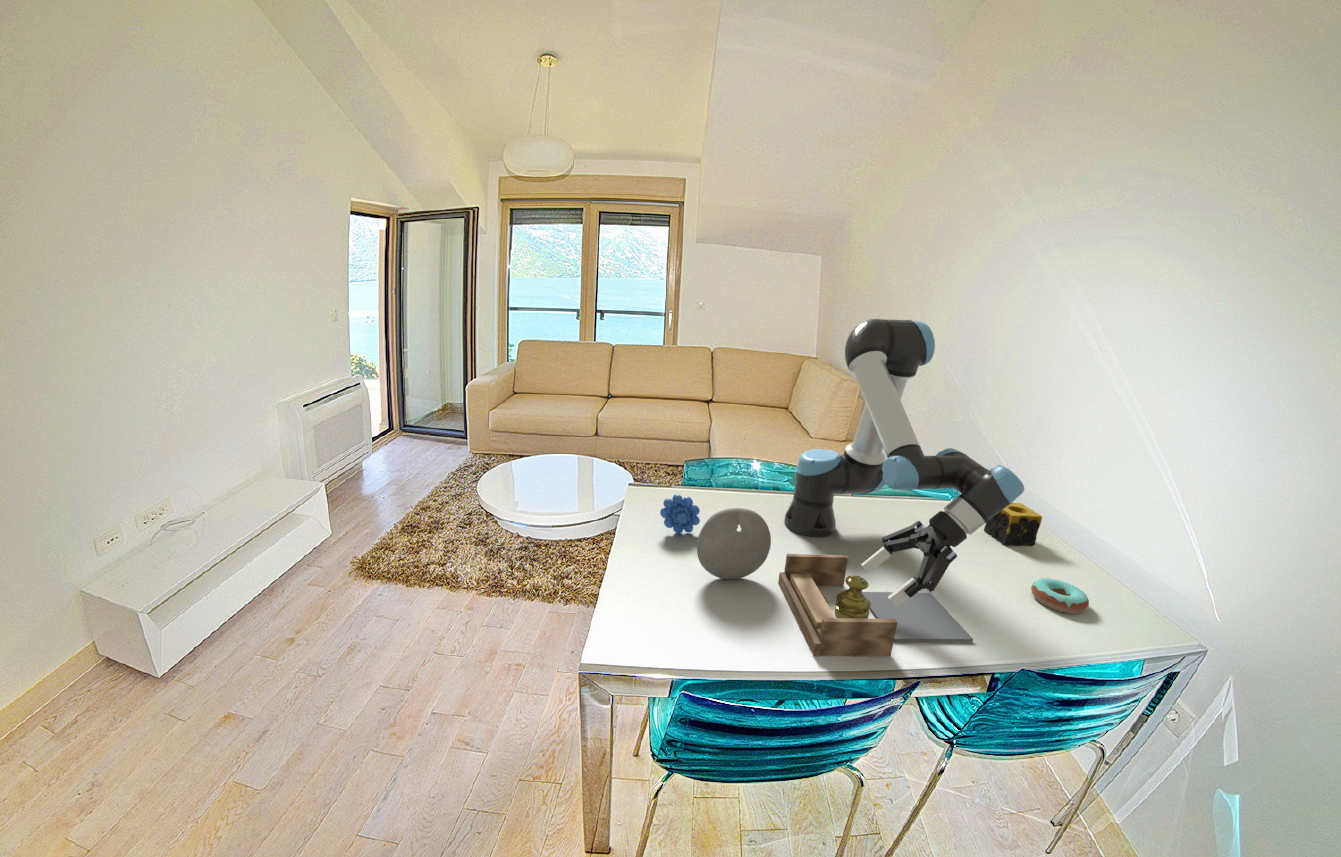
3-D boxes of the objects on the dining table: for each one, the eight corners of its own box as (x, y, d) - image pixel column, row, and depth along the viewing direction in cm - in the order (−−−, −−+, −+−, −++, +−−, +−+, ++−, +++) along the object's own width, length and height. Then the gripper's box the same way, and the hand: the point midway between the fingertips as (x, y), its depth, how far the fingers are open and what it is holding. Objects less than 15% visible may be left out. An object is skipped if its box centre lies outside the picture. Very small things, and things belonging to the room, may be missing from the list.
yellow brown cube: (982, 530, 180) (989, 501, 177) (1013, 531, 181) (1020, 502, 178) (1003, 546, 170) (1011, 515, 167) (1035, 546, 171) (1043, 516, 168)
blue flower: (661, 540, 159) (663, 500, 156) (657, 529, 166) (659, 491, 163) (701, 539, 162) (705, 500, 158) (696, 529, 168) (700, 490, 165)
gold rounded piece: (850, 629, 125) (857, 589, 122) (827, 611, 131) (833, 572, 129) (875, 622, 128) (882, 582, 126) (851, 604, 135) (857, 566, 132)
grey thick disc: (761, 570, 147) (769, 502, 142) (770, 584, 141) (779, 514, 136) (691, 571, 144) (696, 502, 139) (696, 587, 138) (703, 515, 132)
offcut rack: (841, 583, 143) (846, 555, 141) (890, 656, 117) (897, 622, 115) (778, 582, 142) (781, 553, 140) (813, 656, 116) (818, 621, 113)
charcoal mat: (929, 595, 141) (930, 592, 140) (972, 642, 123) (973, 638, 123) (858, 594, 139) (859, 591, 139) (892, 641, 122) (892, 638, 122)
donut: (1047, 585, 150) (1051, 571, 148) (1097, 610, 139) (1101, 596, 138) (1019, 594, 144) (1022, 580, 143) (1068, 621, 134) (1073, 606, 133)
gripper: (1001, 562, 113) (915, 629, 116) (934, 510, 137) (864, 566, 139) (981, 537, 111) (894, 606, 114) (916, 489, 135) (846, 546, 138)
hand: (877, 584), depth 127 cm, fingers open, 13 cm apart
